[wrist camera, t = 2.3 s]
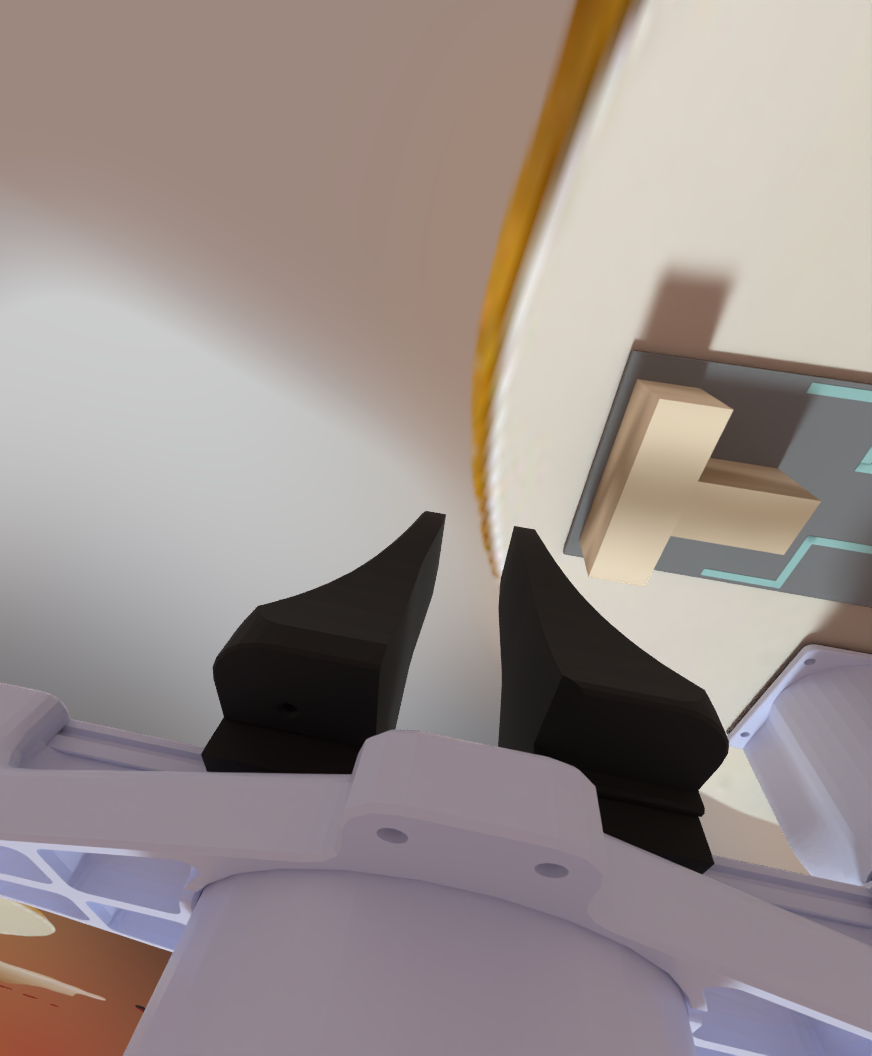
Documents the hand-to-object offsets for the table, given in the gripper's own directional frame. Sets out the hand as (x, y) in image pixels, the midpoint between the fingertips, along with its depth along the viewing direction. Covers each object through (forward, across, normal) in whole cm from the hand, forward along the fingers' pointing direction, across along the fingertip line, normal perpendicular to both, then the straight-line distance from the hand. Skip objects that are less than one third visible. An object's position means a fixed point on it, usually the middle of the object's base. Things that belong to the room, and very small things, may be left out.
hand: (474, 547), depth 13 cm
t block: (+8, -9, 0) cm, 12 cm away
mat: (+8, -13, 0) cm, 15 cm away
